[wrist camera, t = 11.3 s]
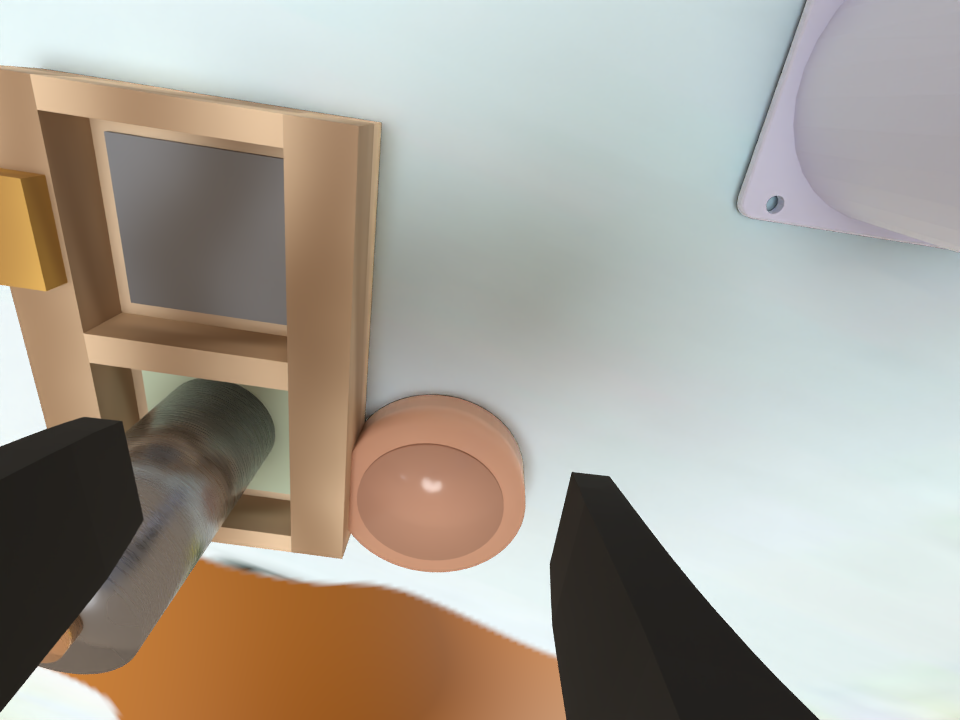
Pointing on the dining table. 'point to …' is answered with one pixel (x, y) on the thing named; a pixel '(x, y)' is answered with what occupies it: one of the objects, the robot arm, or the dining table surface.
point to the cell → (169, 514)
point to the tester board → (197, 272)
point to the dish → (435, 484)
